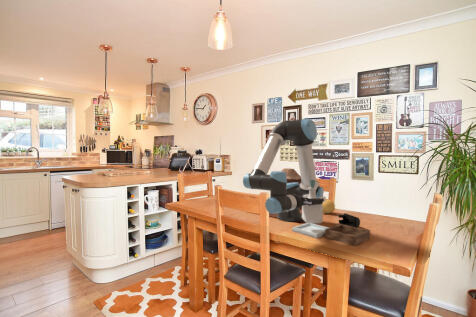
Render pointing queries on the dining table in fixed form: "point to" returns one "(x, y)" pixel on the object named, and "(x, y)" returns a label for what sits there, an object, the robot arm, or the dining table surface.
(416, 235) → the dining table surface
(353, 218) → the end cap
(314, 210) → the soap bottle
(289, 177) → the pottery vessel
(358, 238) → the walnut holder
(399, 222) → the dining table surface
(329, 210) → the stress ball
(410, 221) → the dining table surface
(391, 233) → the dining table surface
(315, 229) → the tray
